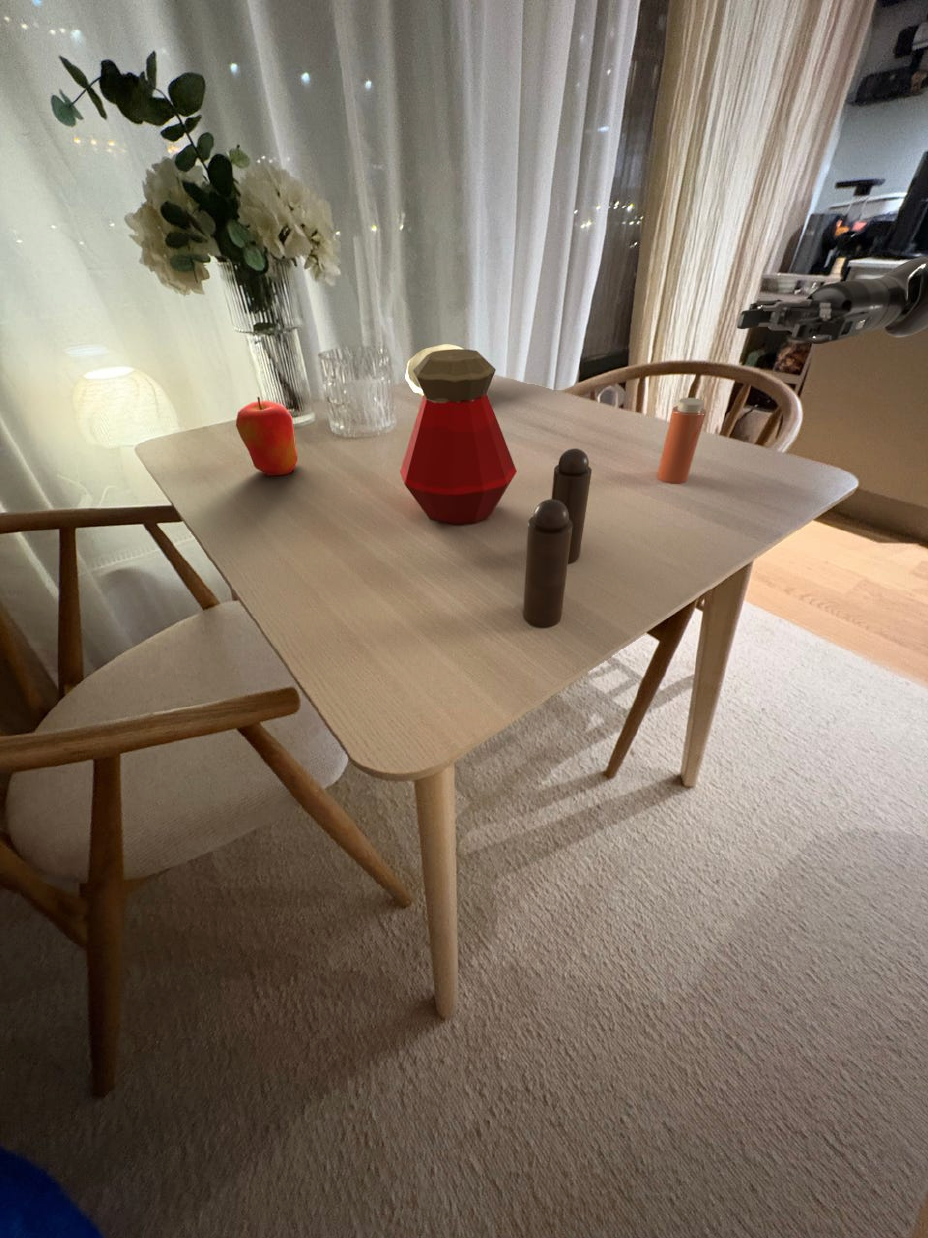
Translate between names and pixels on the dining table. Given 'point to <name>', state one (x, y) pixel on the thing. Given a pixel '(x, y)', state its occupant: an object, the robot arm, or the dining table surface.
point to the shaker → (681, 440)
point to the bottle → (456, 441)
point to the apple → (268, 436)
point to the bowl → (417, 359)
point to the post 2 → (573, 493)
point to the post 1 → (546, 563)
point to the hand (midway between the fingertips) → (767, 325)
